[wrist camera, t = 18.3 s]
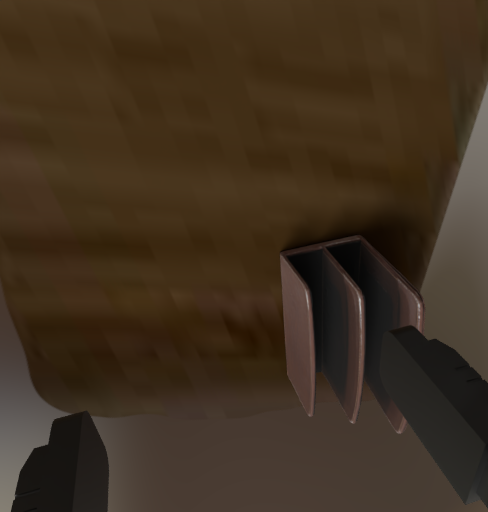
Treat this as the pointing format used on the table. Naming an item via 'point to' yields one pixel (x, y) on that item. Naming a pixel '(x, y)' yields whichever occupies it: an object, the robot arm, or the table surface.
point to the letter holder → (344, 320)
